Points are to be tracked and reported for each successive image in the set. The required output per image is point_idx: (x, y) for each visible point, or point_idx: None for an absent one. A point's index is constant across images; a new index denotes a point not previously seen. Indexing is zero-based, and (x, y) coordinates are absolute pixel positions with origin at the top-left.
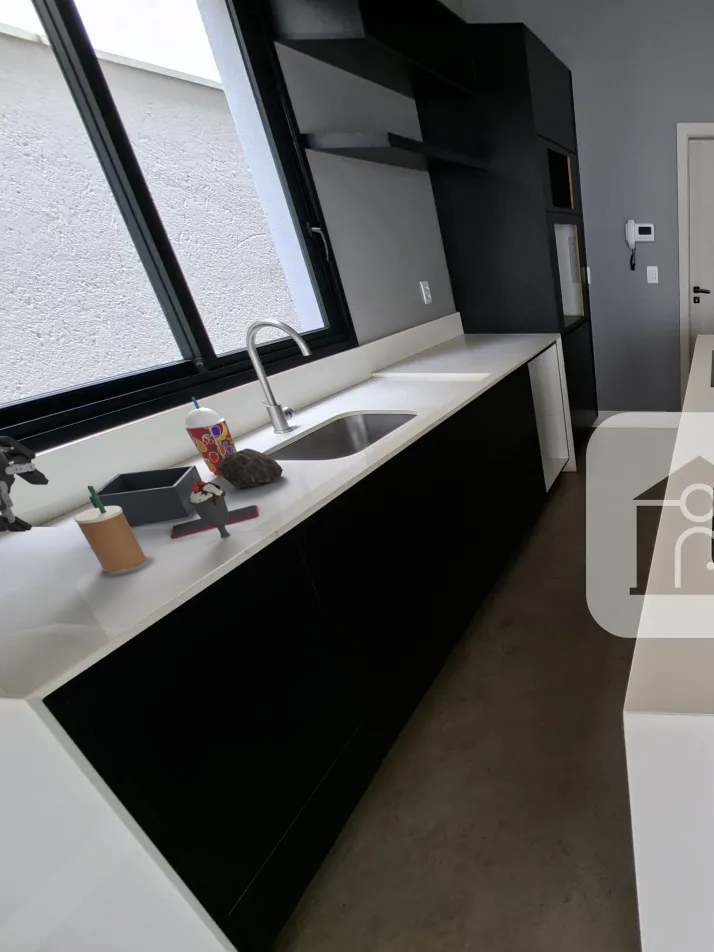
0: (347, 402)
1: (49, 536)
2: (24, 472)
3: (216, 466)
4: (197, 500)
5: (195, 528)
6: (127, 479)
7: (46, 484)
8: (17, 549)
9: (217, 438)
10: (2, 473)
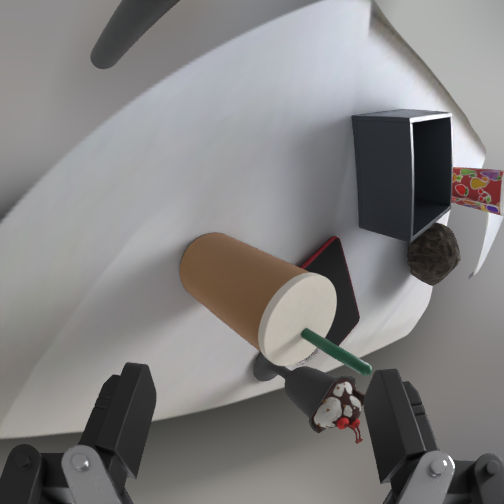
0: None
1: (345, 37)
2: (395, 472)
3: None
4: (318, 421)
5: None
6: (442, 121)
7: (364, 399)
8: (314, 10)
9: (483, 206)
10: None
